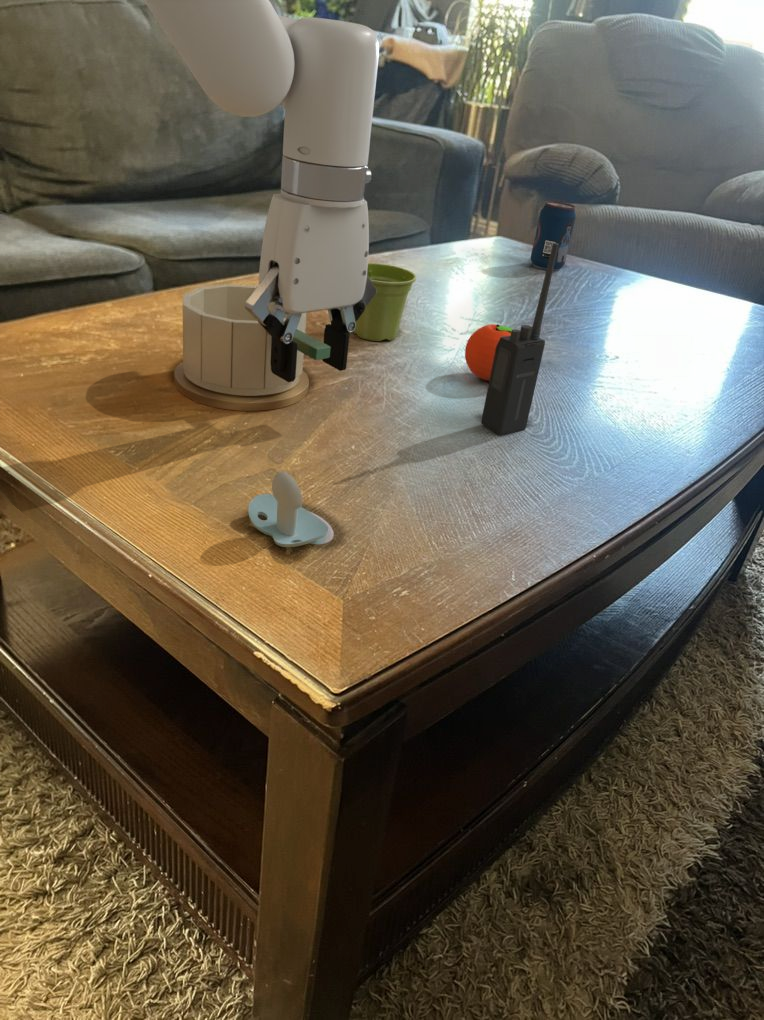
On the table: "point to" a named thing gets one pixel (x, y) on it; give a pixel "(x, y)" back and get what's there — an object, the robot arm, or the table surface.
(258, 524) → the pacifier
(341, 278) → the robot arm
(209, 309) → the pot
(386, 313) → the plant pot
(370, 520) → the table surface
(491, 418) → the walkie-talkie
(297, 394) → the disc
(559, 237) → the soda can
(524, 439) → the table surface
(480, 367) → the clementine
